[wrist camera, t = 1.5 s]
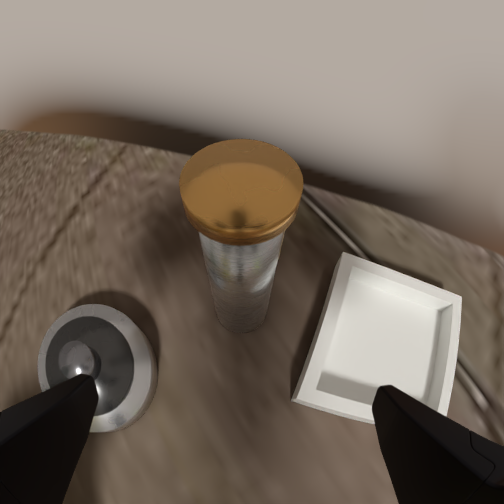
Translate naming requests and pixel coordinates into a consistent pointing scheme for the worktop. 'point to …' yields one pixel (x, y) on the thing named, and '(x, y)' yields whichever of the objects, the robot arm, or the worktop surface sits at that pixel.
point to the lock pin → (241, 222)
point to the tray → (380, 341)
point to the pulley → (102, 362)
